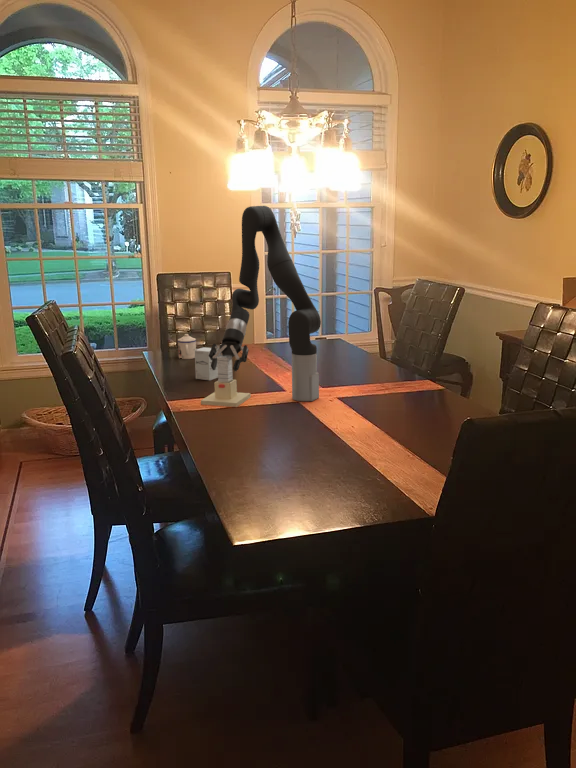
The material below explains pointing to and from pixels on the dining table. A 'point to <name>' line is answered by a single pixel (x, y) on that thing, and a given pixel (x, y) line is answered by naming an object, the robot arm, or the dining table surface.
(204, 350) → the supplement box
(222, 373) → the column
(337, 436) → the dining table surface
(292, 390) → the robot arm
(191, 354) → the teacup with lid
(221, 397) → the stand base
